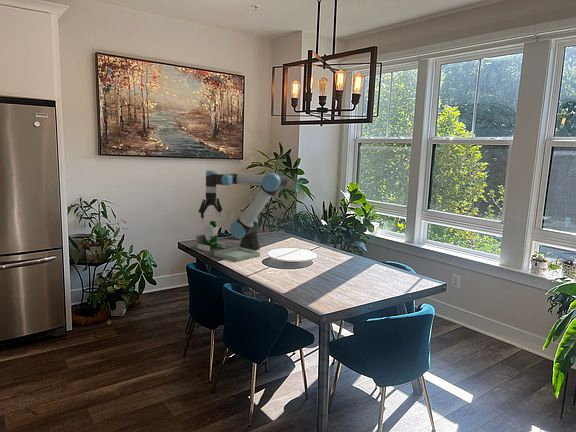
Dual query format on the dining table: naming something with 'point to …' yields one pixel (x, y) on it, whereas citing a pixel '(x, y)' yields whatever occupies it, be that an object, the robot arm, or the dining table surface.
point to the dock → (204, 247)
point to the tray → (237, 254)
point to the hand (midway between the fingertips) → (210, 221)
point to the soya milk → (211, 234)
